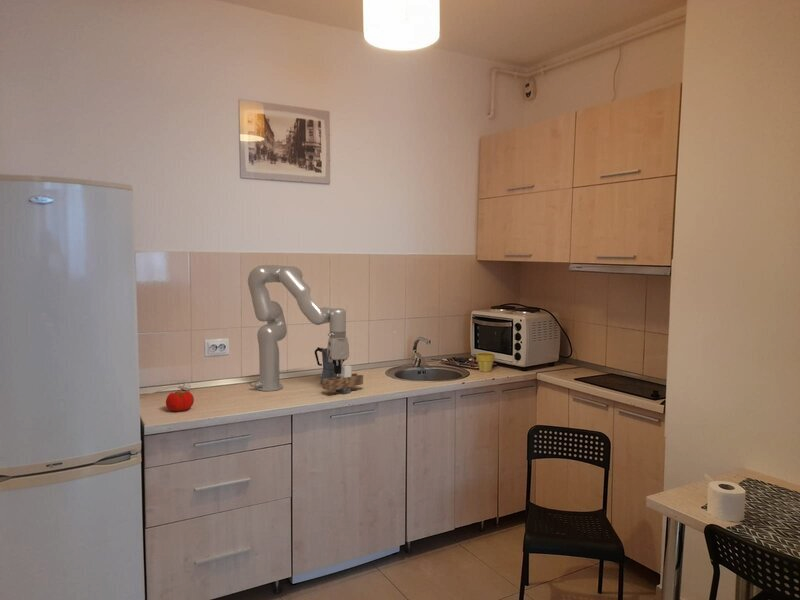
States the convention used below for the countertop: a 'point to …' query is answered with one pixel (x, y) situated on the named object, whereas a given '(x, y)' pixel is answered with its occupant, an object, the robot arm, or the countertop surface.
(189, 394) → the tomato
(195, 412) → the countertop surface
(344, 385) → the beam
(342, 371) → the white block
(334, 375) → the moka pot
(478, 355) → the plant pot
